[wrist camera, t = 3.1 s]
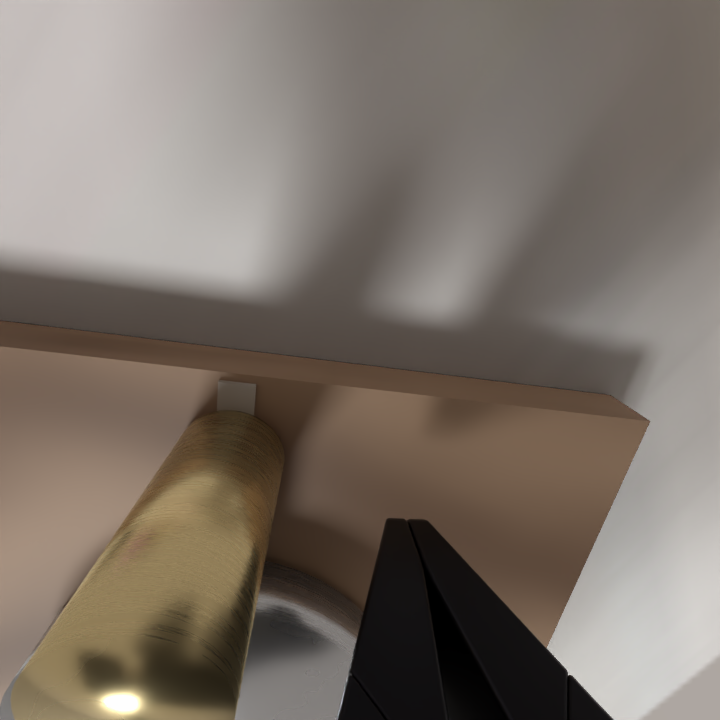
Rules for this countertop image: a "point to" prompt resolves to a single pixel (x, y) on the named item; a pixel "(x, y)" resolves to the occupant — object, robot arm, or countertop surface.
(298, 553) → the dial panel
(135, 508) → the dial
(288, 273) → the countertop surface
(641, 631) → the countertop surface
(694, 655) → the countertop surface
